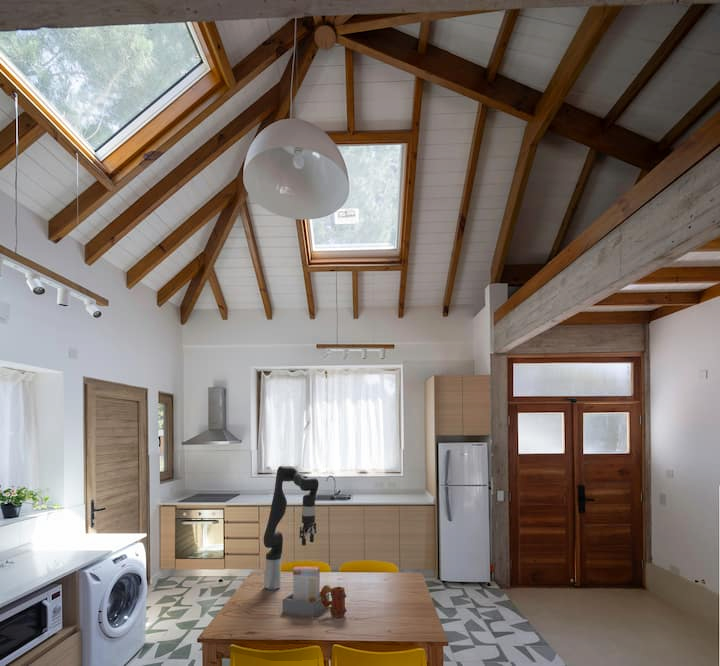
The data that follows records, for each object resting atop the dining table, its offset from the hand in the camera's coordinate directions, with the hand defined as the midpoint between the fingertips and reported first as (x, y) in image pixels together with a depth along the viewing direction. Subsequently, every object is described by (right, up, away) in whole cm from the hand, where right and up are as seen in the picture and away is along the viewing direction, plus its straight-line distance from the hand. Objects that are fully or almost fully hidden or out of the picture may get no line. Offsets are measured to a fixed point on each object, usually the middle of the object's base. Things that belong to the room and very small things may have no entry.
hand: (307, 543), depth 316 cm
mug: (+15, -32, -18) cm, 40 cm away
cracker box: (0, -32, -8) cm, 33 cm away
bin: (0, -33, -9) cm, 34 cm away
